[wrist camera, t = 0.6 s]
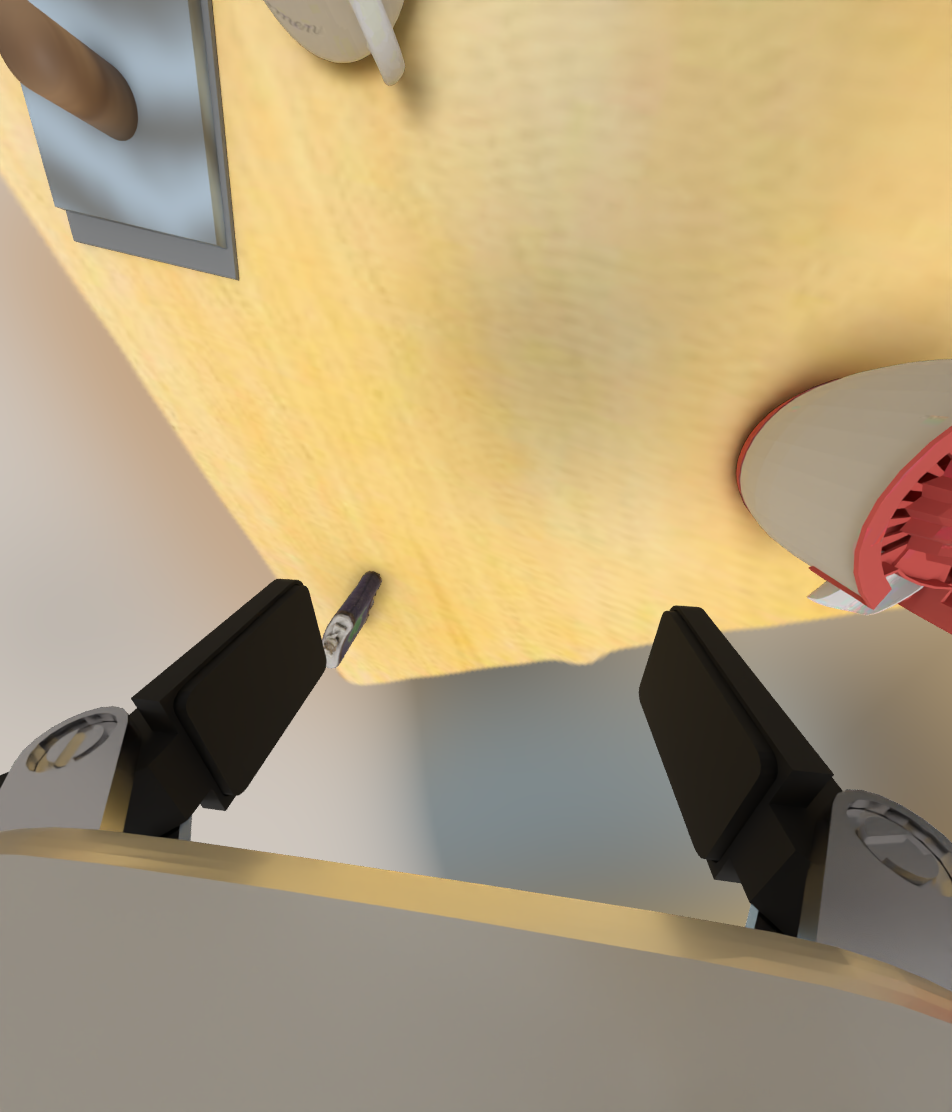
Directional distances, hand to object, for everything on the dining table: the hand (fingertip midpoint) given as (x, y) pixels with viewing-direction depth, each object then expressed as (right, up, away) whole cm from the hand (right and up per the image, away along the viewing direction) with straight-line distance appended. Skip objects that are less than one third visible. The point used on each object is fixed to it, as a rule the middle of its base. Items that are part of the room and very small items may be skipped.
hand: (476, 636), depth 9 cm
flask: (-15, -3, +37) cm, 40 cm away
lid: (-27, +36, +17) cm, 49 cm away
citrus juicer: (+31, +11, +24) cm, 40 cm away
